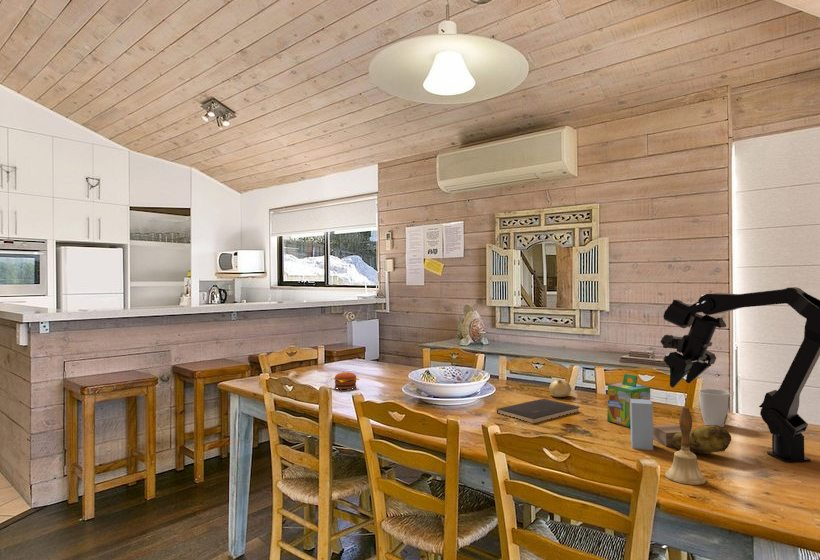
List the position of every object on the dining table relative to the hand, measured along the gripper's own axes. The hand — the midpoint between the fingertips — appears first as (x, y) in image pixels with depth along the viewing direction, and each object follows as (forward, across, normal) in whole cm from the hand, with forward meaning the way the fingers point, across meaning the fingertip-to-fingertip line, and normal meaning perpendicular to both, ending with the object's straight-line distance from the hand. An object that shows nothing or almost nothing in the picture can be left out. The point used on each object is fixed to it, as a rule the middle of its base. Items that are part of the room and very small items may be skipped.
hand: (679, 384), depth 150 cm
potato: (+9, +14, +16) cm, 23 cm away
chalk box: (+19, +1, -9) cm, 21 cm away
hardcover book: (+29, +13, -33) cm, 45 cm away
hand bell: (+7, +32, +21) cm, 39 cm away
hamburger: (+57, +42, -105) cm, 127 cm away
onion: (+32, -12, -42) cm, 54 cm away
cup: (+12, -16, +7) cm, 22 cm away
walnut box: (+12, +10, +7) cm, 17 cm away
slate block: (+13, +19, +4) cm, 24 cm away
